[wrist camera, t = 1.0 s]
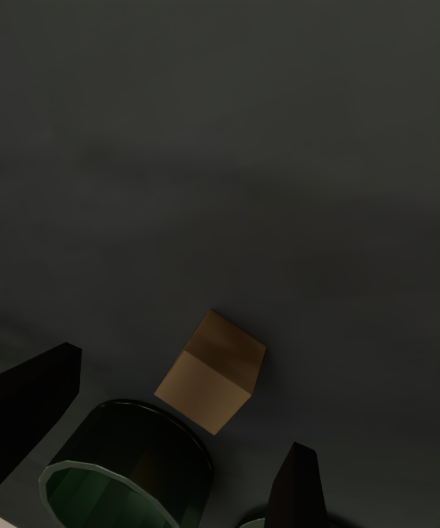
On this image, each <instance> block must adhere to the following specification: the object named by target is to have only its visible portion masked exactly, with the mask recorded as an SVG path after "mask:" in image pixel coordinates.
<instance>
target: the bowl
mask: <svg viewBox="0 0 440 528" xmlns="http://www.w3.org/2000/svg"><path fill="white" fill-rule="evenodd" d="M213 476H214V474H213V466H212V462H211V459H210V456H209V454H208V452H207V450H206V449H205V447H204V445H203V444H202V443H201V441H200V440H199V439H198V438H197V436H196V435H195V434H194V433H193V432H192V431H191V430H190V429H189V428H188V427H187V426H186V425H184V424H183V423H182V422H181V421H179V420H178V419H176V418H175V417H173V416H172V415H170V414H169V413H167V412H165V411H163V410H161V409H159V408H157V407H154V406H152V405H149V404H146V403H143V402H139V401H134V400H126V399H118V400H111V401H107V402H104V403H102V404H100V405H98V406H97V407H96V408H95V409H93V410H92V411H91V412H90V413H89V414H88V416H87V417H86V418H85V419H84V421H83V422H82V423H81V424H80V426H79V427H78V428H77V429H76V431H75V432H74V433H73V434H72V436H71V437H70V438H69V439H68V441H67V442H66V443H65V444H64V445H63V447H62V448H61V449H60V450H59V452H58V453H57V454H56V455H55V457H54V458H53V459H52V460H51V462H50V463H49V464H48V465H47V467H46V468H45V470H44V472H43V473H42V475H41V476H40V478H39V489H40V497H41V500H42V502H43V504H44V506H45V507H46V509H47V511H48V513H49V514H50V516H51V518H52V519H53V521H54V522H55V523H56V524H57V525H58V526H59V527H60V528H198V526H199V523H200V520H201V517H202V514H203V511H204V508H205V506H206V503H207V500H208V497H209V493H210V489H211V485H212V483H213Z"/></svg>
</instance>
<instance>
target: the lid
mask: <svg viewBox="0 0 440 528" xmlns="http://www.w3.org/2000/svg"><path fill="white" fill-rule="evenodd" d="M265 516H266V512H263V513H258V514H254V515H252V516H249V517H247V518H245V519H244V520H242V521H241V522H240V523H239V524H238V525H237V526H236V528H264V522H265ZM329 525H330V528H341V527H339V526H337V525H334V524H332V523H330V522H329Z"/></svg>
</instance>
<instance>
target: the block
mask: <svg viewBox="0 0 440 528" xmlns="http://www.w3.org/2000/svg"><path fill="white" fill-rule="evenodd" d="M265 351H266V346H264V345H263V344H261V343H260V342H259V341H257V340H256V339H254V338H253V337H251V336H250V335H248V334H247V333H245V332H244V331H242V330H241V329H239V328H238V327H236V326H235V325H233V324H232V323H230V322H229V321H227V320H226V319H224V318H223V317H221V316H220V315H218V314H217V313H215V312H214V311H212V310H211V309H210V310H209V311H208V313H207V314H206V316H205V317H204V319H203V320H202V322H201V323H200V325H199V326H198V328H197V329H196V331H195V332H194V334H193V335H192V336H191V338H190V339H189V341H188V342H187V344H186V345H185V347H184V348H183V350H182V351H181V353H180V354H179V356H178V357H177V359H176V361H175V362H174V364H173V365H172V367H171V368H170V370H169V372H168V373H167V375H166V376H165V378H164V379H163V381H162V383H161V384H160V386H159V387H158V389H157V390H156V392H155V395H156V396H157V397H159V398H160V399H162V400H163V401H165V402H166V403H168V404H169V405H171V406H172V407H174V408H175V409H176V410H178V411H179V412H181V413H182V414H184V415H185V416H187V417H188V418H190V419H191V420H193V421H194V422H196V423H197V424H198V425H200V426H201V427H203V428H204V429H206V430H207V431H209V432H210V433H212V434H213V435H215V434H216V433H217V432H218V431H219V430H220V429H221V428H222V427H223V426H224V425H225V424H226V423H227V421H228V420H229V419H230V418H231V417H232V416H233V415H234V414H235V413H236V412H237V411H238V410H239V409H240V408H241V406H242V405H243V404H244V403H245V402H246V401H247V400H248V399H249V398H250V397H251V396H252V393H253V390H254V387H255V383H256V380H257V377H258V374H259V370H260V367H261V364H262V361H263V357H264V354H265Z"/></svg>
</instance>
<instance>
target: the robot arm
mask: <svg viewBox="0 0 440 528" xmlns="http://www.w3.org/2000/svg"><path fill="white" fill-rule="evenodd" d="M81 355H82V349H81V348H78V347H76V346H74V345H71V344H69V343H67V342H65V343H63V344H61V345H59V346H56V347H54V348H52V349H50V350H48V351H46V352H44V353H42V354H40V355H38V356H36V357H34V358H32V359H30V360H28V361H26V362H24V363H22V364H19V365H17V366H15V367H13V368H11V369H9V370H7V371H5V372H2V373H0V484H1V483H2V482H3V481H4V480H5V479H6V478H7V477H8V476H9V474H10V473H11V472H12V471H13V470H14V469H15V468H16V467H17V466H18V465H19V464H20V462H21V461H22V460H23V459H24V458H25V457H26V456H27V455H28V454H29V453H30V452H31V450H32V449H33V448H34V447H35V446H36V445H37V444H38V443H39V442H40V441H41V440H42V438H43V437H44V436H45V435H46V434H47V433H48V432H49V431H50V430H51V428H52V427H53V426H54V425H55V424H56V423H57V422H58V421H59V419H60V418H61V417H62V415H63V414H64V413H65V411H66V410H67V409H68V407H69V406H70V404H71V403H72V402H73V400H74V399H75V397H76V396H77V395H78V393H79V387H80V371H81ZM264 528H330V525H329V520H328V516H327V511H326V506H325V501H324V496H323V491H322V486H321V480H320V474H319V467H318V460H317V454H316V452H315V450H313V449H310V448H308V447H306V446H303V445H301V444H299V443H296V442H294V443H293V445H292V447H291V449H290V451H289V453H288V455H287V457H286V459H285V461H284V462H283V464H282V466H281V468H280V470H279V472H278V474H277V476H276V478H275V480H274V482H273V486H272V490H271V494H270V498H269V503H268V507H267V512H266V516H265V522H264Z"/></svg>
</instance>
